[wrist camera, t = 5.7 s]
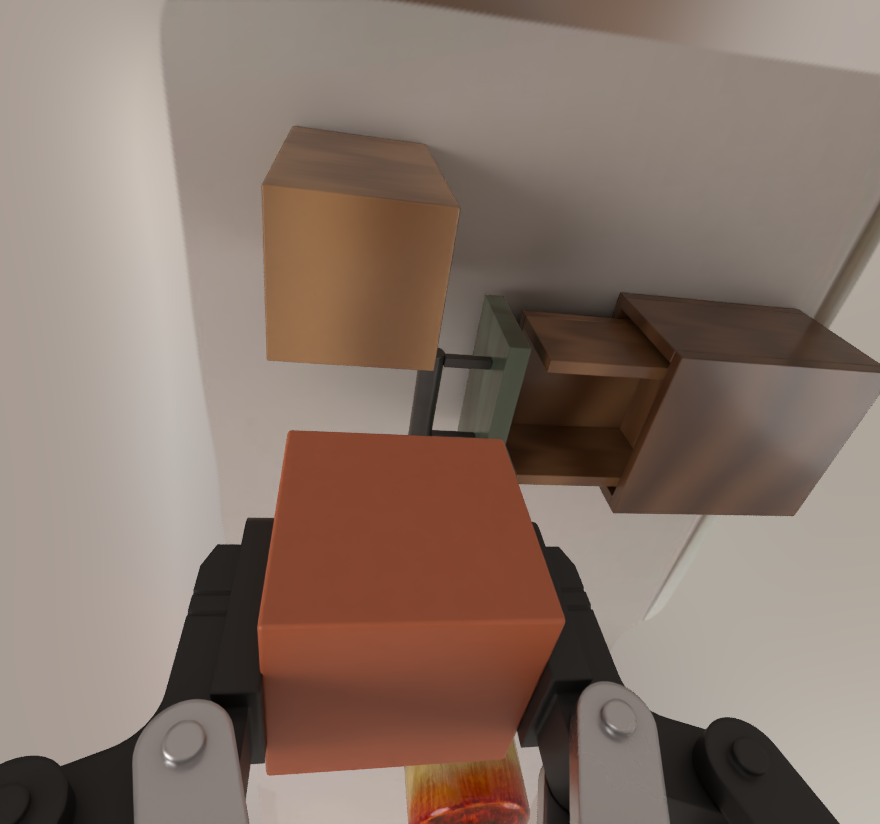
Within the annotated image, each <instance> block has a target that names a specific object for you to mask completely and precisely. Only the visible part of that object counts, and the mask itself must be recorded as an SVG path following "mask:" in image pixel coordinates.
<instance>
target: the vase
mask: <svg viewBox="0 0 880 824" xmlns="http://www.w3.org/2000/svg"><path fill="white" fill-rule="evenodd" d="M404 770H405V785H406V799H407V813H408V824H527V823H528V821H529V818H530V808H529V804H528V799H527V794H526V789H525V785H524V780H523V776H522V771H521V767H520V762H519V757H518V753H517V748H516V744H515V739H514V738H513V740H512V743H511V745H510V747H509V749H508V752H507V754H506V756H505V758H504V759H502V760H488V761H473V762H459V763H444V764H430V765H415V766H404Z"/></svg>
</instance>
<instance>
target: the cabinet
mask: <svg viewBox="0 0 880 824" xmlns="http://www.w3.org/2000/svg"><path fill="white" fill-rule="evenodd" d="M612 318H616V319H628V320H632V321H633V322H634V323H635V324H636V325H637V326H638V327H639V329H640V330H641V331H642V332H643V333H644V334H645V335H646V336H647V337H648V339H649V340H650V341H651V342H652V343H653V344H654V345H655V346H656V347H657V349H658V350H659V351H660V352H661V353H662V354H663V355H664V356H665V357H666V359H667V360H668V361H669V362H670V365H669V368H668V370H667V372H666V375H665V377H664V379H663V382H662V384H661V386H660V388H659V391H658V393H657V395H656V398H655V400H654V402H653V404H652V407H651V409H650V411H649V414H648V416H647V418H646V421H645V423H644V425H643V427H642V430H641V432H640V434H639V437H638V439H637V441H636V443H635V446H634V448H633V450H632V453H631V455H630V457H629V460H628V462H627V464H626V466H625V469H624V471H623V473H622V476H621V478H620V480H619V482H618V485H617V487H612V486H599V487H600V489H601V491H602V493H603V495H604V497H605V499H606V501H607V503H608V504H609V506H610V508H611V510H612V512H613V513H636V514H698V515H760V516H794V515H795V514H796V512H797V511H798V510H799V508H800V506H801V505H802V504H803V502H804V501H805V500H806V498H807V497H808V495H809V494H810V492H811V491H812V489H813V488H814V487H815V485H816V484H817V483H818V481H819V480H820V478H821V477H822V475H823V474H824V473H825V471H826V470H827V468H828V467H829V465H830V464H831V463H832V461H833V460H834V458H835V457H836V456H837V454H838V453H839V451H840V450H841V448H842V447H843V446H844V444H845V443H846V441H847V440H848V438H849V437H850V436H851V434H852V433H853V431H854V430H855V429H856V427H857V426H858V424H859V423H860V421H861V420H862V419H863V417H864V416H865V414H866V413H867V411H868V410H869V408H870V407H871V406H872V404H873V403H874V401H875V400H876V399H877V397H878V396H879V394H880V364H879V363H878V362H876V361H875V360H873V359H871V358H870V357H869V356H867V355H866V354H864V353H863V352H861V351H860V350H858V349H857V348H856V347H854V346H852V345H851V344H849V343H848V342H846V341H845V340H844V339H842V338H841V337H839V336H838V335H836V334H835V333H833V332H832V331H830V330H829V329H827V328H826V327H824V326H823V325H821V324H820V323H818V322H817V321H815V320H814V319H812V318H811V317H809V316H808V315H806V314H805V313H803V312H802V311H800V310H798V309H787V308H777V307H766V306H756V305H745V304H735V303H724V302H714V301H703V300H693V299H682V298H672V297H661V296H651V295H641V294H630V293H620V295H619V298H618V301H617V304H616V307H615V310H614V312H613V315H612Z"/></svg>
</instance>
